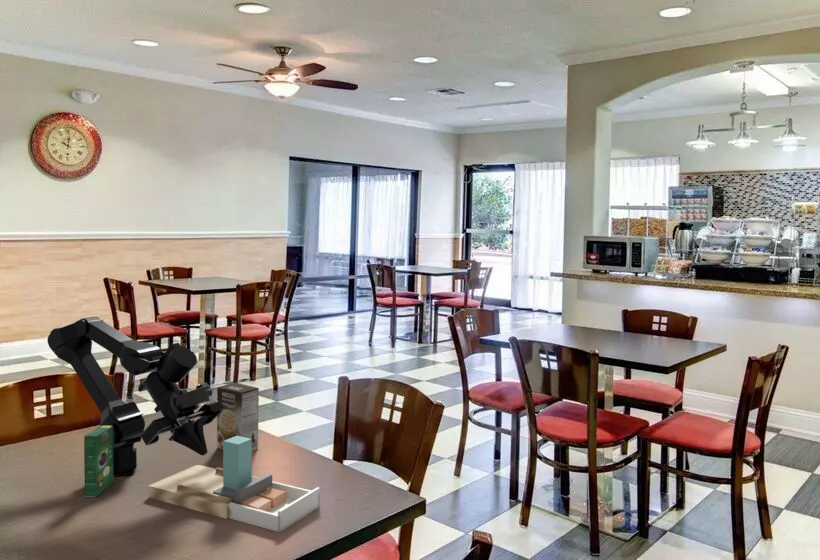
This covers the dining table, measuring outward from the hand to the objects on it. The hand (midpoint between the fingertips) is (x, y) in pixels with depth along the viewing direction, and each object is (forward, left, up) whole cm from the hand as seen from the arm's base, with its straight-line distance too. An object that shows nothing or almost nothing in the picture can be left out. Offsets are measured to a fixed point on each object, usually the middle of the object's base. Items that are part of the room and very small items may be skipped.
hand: (205, 454), depth 140 cm
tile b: (+9, -13, -8) cm, 18 cm away
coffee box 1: (-21, +8, -9) cm, 25 cm away
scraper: (+7, -7, -6) cm, 12 cm away
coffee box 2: (+9, +27, -9) cm, 30 cm away
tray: (+13, -13, -9) cm, 20 cm away
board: (+1, -1, -9) cm, 9 cm away
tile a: (+13, -9, -8) cm, 18 cm away
